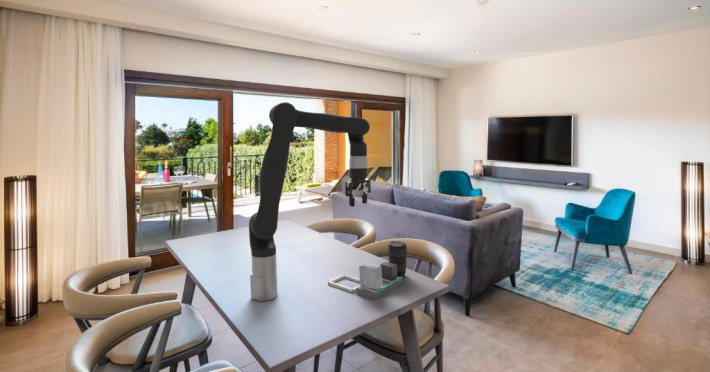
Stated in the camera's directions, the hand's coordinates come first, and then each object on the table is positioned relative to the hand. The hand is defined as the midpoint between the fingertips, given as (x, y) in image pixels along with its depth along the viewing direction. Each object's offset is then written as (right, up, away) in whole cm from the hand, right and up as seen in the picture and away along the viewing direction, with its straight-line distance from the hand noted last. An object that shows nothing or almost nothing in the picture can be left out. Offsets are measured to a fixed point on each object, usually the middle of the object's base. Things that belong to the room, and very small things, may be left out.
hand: (358, 204), depth 155 cm
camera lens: (+17, -32, +9) cm, 38 cm away
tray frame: (-4, -34, -1) cm, 34 cm away
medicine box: (+5, -32, -10) cm, 34 cm away
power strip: (+9, -34, -5) cm, 36 cm away
